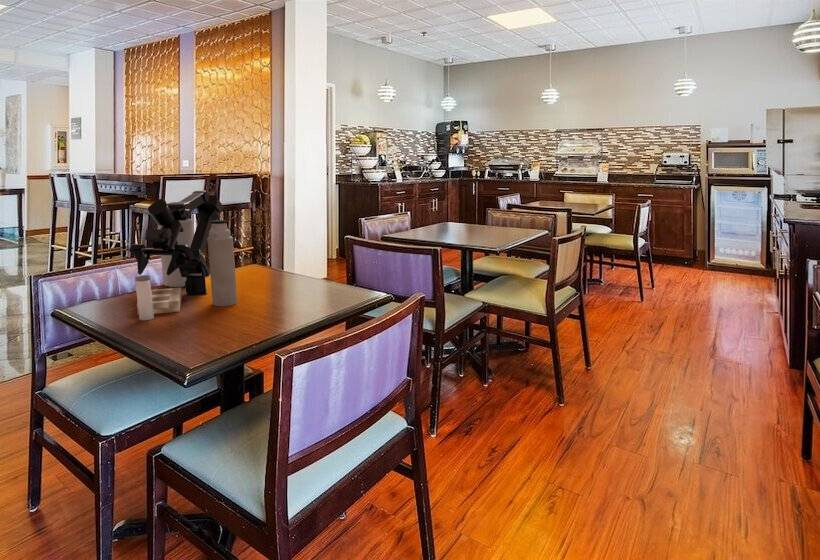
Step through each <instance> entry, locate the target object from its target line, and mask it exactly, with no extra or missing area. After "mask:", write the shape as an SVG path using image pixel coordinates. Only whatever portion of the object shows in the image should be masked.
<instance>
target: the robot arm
mask: <svg viewBox="0 0 820 560" xmlns="http://www.w3.org/2000/svg"><path fill="white" fill-rule="evenodd" d="M223 206H224V205H223V203H222V202H221V201H220V200H219V199H218V198H217V197H215V196H214V195H211V194H210V193H209V192H208V191H207V190H195V191H193V192H192V193H191V194H189V195H188V196H186V197H185V198H183V199H182V200H179V201H173V202H169V203H167V201H166V200H165V198H158V199H157V201H155V202H153V203H151V204H150V205H148V208H147V211H148V213H149V216H151V217H152V219H153V221H155V223H156V224H157V226H158V225H161V228H160V230H159V229H158V228H146V229H145V233H144V234H145V236H144V240H145V241H149V245H150V246H151V247H147V246H146V245H145V243H132V244H130V246H129V248H128V251H129V252H130V253H131V255H132V256H133V257H134V259H135V260H136V261H137V274H138V276H142V274H143V273H144V272H145V269H146V268H147V265H148V264H149V263H150V261H149V260H150V258H151V256H161V255H162V256H172V259H171V261H170V264H169V267H168V269H167V275H170V274H171V273H173V272H174V271H175V270H176V269H177V268H179V270H180V274H181V277H186V279H187V280H185V287H184V288H185V293H187V294H186V295H187V296H193V295H194V296H195V295H206V294H207V293H208V290H207V285H206V283H207V281H206V278H209V276H210V266H209V265H208V264H207V263H206V262H207V261H206V258H205V255H204V253H205V249H206V246H207V244H208V241H207V238H208V237H209V231H210V230H211V229H212V227H211V225H212V223H211V221H214V220H219V218H220V216H221V214H222V211H223V210H224V209H223V208H224V207H223ZM195 209H196V210H197V214H198V217H199V219H198V221H197V225H196V228H195V230H194V237H193V240H192V243H191V246H190V248H189V247H188V245H180V244H178V242H177V237H178V235H179V232H183V231H184V230H183V227H182V225H181V223H180V222H179V221H186V220H188V219H190V217H191V216H192V212H193V210H195ZM178 220H179V221H178ZM173 248H174V249H173Z"/></svg>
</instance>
